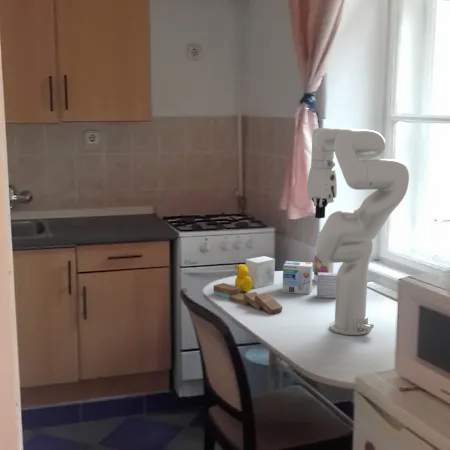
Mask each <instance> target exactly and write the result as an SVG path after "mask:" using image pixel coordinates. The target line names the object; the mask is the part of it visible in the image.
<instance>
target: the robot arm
mask: <svg viewBox="0 0 450 450" xmlns="http://www.w3.org/2000/svg"><path fill="white" fill-rule="evenodd" d="M311 134H312V135H311V157H310V158H311V160H310V168H309V172H308V177H307V183H306V185H307V187H306V193H307V195H308V200H310V201H312V202H313V206H314V207H315V213H314V214H315V215H314V217H315V219H324V218H326V207H328V204H330V203H334V201H335V200H334V199H335V198H337V193H338V192H337V191H338V190H337V187H338V186H337V185H338V184H337V173H336V169H334V167H335V166H336V163H335V162H334V161H335V160H334V158H336V160H337V163H338V165H339V168H340V170H341V173H342V175H343V179H344V180H345V182H346V184H347V186H348V187H349V188H351V189H353V190H358V191H359V190H360V191H361V190H362V191H363V190H366V191H367V190H374V191H373V192H372V193H371V194H369V195H368V196H367V197H366V198H365V199H364V200H363V201H362V203H361V204H360V206H359V207H358V208H357V209H353V210H352V209H350V210H337V211H334V212H333V213H331V214H329V216H328V217H327V219H326V221H325V223H324V225H323V226H322V229H321V230H320V231H321V232H320V231H319V232H320V234H319V235H318V236H317V239H316V243H315V249H314V250H315V251H316V255H317V257H318V259H319V260H320V261H322V262H324V263H334V264H337V263H341V265H340V266H339V268H338V270H337V272H336V273H337V280H336V298H335V303H334V304H335V305H334V306H335V307H334V320H333V321H331V322H330V323H329V329H330V330H331V331H332V332H334V333H337V334H340V335H347V336H362V335H365V334H368V333H370V332H371V331H372V329H374V326H375V325H374V324H373V323H369V317H366V314H367V313H366V312H367V311H366V310H367V293H368V279H369V276H368V275H369V268H370V267H369V265H370V261H371V256H372V252H373V241H372V240H374V239H376V237H377V236H378V234H379V233H380V231H381V230H382V228H383V227H384V225H385V224H386V222H387V220H388V219H389V217H390V215H391V214H392V213H393V212H394V211H395V209H396V208H397V207H398V206H399V205H400V204H401V202H402V201H403V199H404V197H405V196H406V193H407V191H408V188H409V182H410V175H409V173H410V172H409V169H408V167H407V166H406V164H404V163H403V162H402V161H399V160H396V159H391V158H390V159H389V158H378V157H380V156H381V155H382V154H383V153H384V151H385V150H386V140H385V138H384V136H383V135H381V133H380V132H377V131H374V130H373V129H371V130H369V129H358V128H327V127H319V128H314V129H313V130H312V133H311ZM377 158H378V159H377ZM315 251H314V252H315Z"/></svg>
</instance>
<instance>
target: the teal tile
mask: <svg viewBox="0 0 450 450" xmlns="http://www.w3.org/2000/svg"><path fill="white" fill-rule="evenodd" d="M213 294H214V295H216V296H219V297H222V298H225V299H227V300H230V296H232V295H227V294H224V293H220V292H217V291H214V290H213ZM238 294H241V292H240V293H238ZM235 295H236V294H235Z"/></svg>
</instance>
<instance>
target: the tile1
mask: <svg viewBox="0 0 450 450" xmlns="http://www.w3.org/2000/svg"><path fill="white" fill-rule="evenodd" d="M254 300H255V301H256V302H257V303H258V304H260V305H261V306H262V307H263V308H264V309H263V310H265V312H267V313H268V314H269V315H274V314H278V313H281V312H282V311H283V307H284V306H282V305H281V304H280V302H278V301H277V300H275V299H274V297H272V295H270V294H269V293H268V292H263V293H258V295H256V296H255V299H254Z"/></svg>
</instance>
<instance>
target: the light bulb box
mask: <svg viewBox="0 0 450 450" xmlns="http://www.w3.org/2000/svg"><path fill="white" fill-rule="evenodd" d="M282 266H283V267H282V289H281V290H282V291H281V292H282V293H290V294H301V295H303V294H304V295H310V294H311V293H312V290H313V277H314V262H308V261H307V262H304V261H293V260H292V261H290V260H289V261H288V260H285V263H283V265H282Z"/></svg>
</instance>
